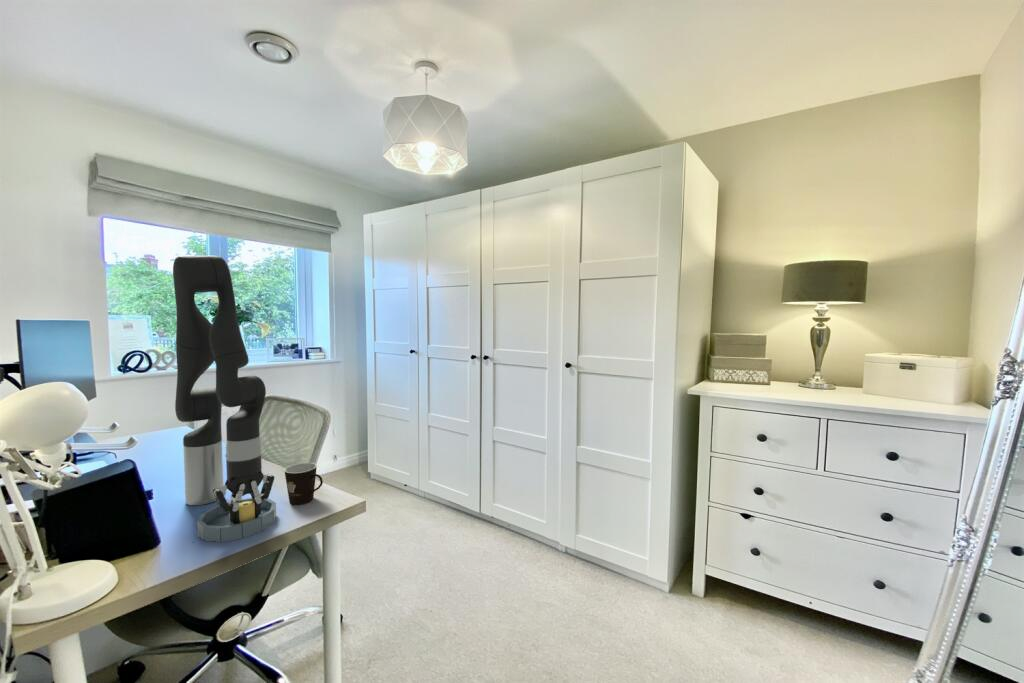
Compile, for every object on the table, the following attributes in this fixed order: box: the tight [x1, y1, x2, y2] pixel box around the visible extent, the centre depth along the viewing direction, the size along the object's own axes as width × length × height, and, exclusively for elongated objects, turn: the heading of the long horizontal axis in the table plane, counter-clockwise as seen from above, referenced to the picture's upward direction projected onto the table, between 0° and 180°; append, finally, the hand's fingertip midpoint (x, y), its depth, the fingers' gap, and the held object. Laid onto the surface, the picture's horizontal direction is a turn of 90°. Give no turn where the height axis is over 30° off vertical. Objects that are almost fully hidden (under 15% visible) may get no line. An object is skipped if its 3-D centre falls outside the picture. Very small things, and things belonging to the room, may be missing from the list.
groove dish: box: [196, 497, 277, 543], centre depth 110 cm, size 17×17×4 cm
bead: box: [238, 501, 255, 524], centre depth 107 cm, size 4×4×5 cm
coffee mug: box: [283, 462, 324, 506], centre depth 124 cm, size 12×9×10 cm
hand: (246, 520), depth 107 cm, fingers closed on bead, 4 cm apart
